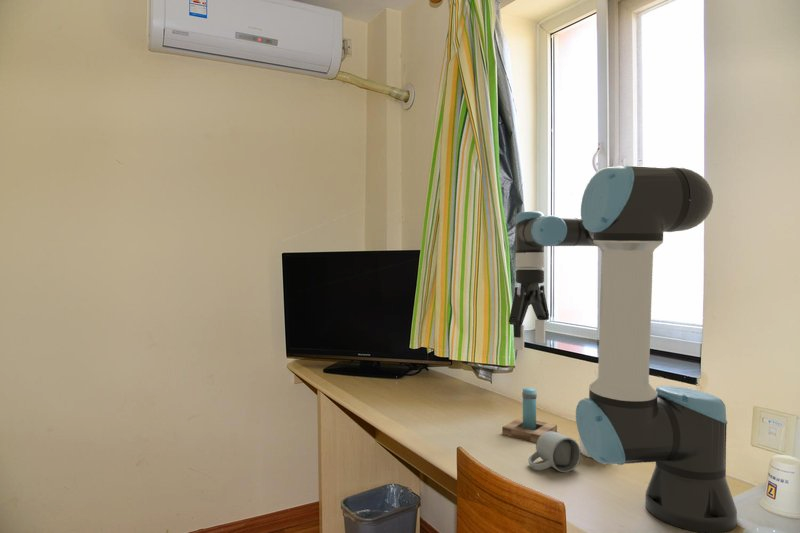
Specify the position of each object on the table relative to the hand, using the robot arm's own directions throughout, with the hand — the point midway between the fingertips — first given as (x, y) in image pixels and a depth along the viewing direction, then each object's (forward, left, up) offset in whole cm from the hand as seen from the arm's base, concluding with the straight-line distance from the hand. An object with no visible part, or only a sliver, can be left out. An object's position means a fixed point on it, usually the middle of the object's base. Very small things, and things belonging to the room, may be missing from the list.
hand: (529, 346), depth 143 cm
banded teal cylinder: (0, 0, -24) cm, 24 cm away
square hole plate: (0, 0, -24) cm, 24 cm away
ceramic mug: (-18, -14, -24) cm, 33 cm away
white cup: (-4, -19, -24) cm, 31 cm away
